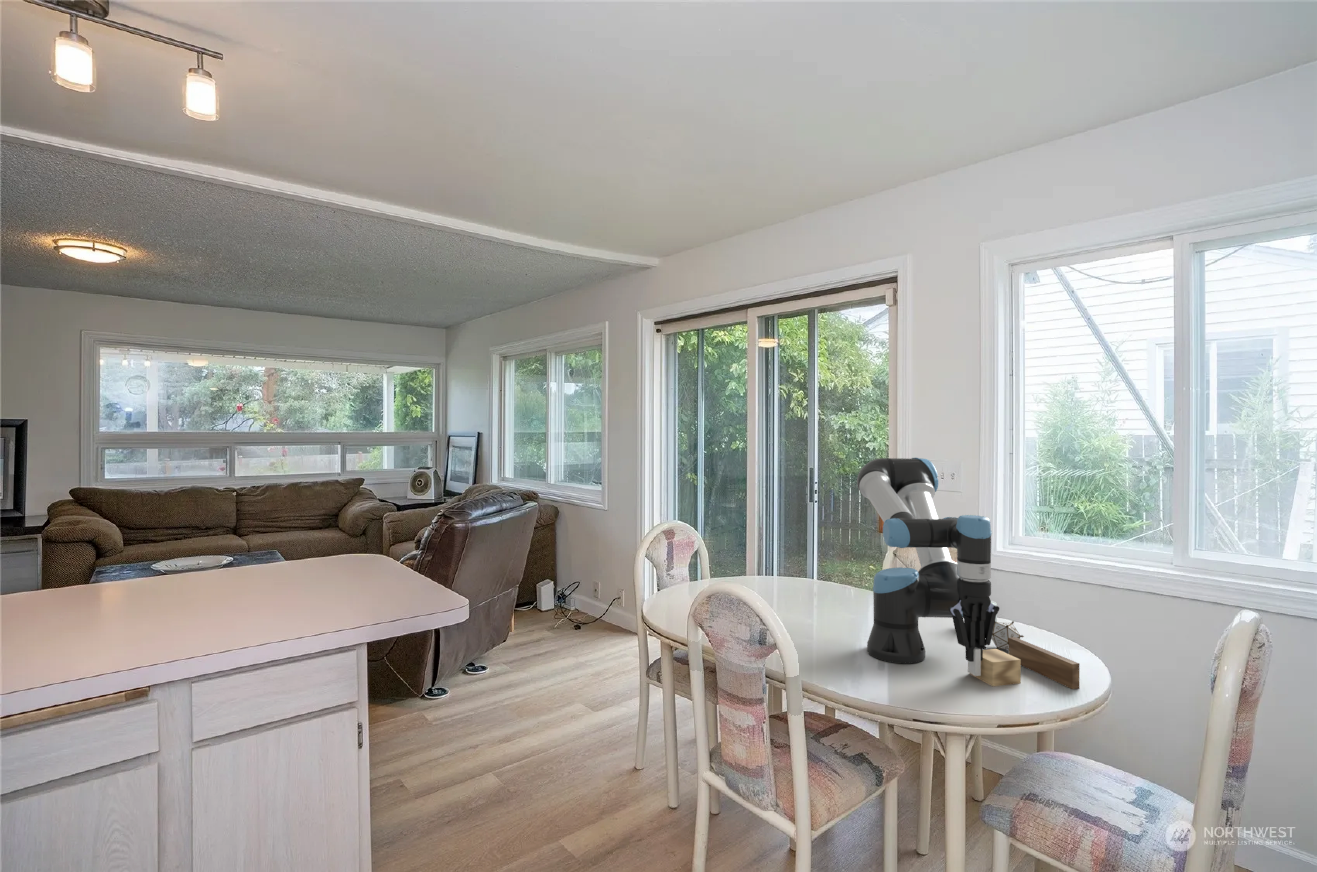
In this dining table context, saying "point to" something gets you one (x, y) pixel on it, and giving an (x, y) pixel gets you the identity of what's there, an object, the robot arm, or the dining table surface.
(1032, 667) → the board
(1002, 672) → the block
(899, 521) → the robot arm
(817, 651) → the dining table surface
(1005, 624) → the game die
